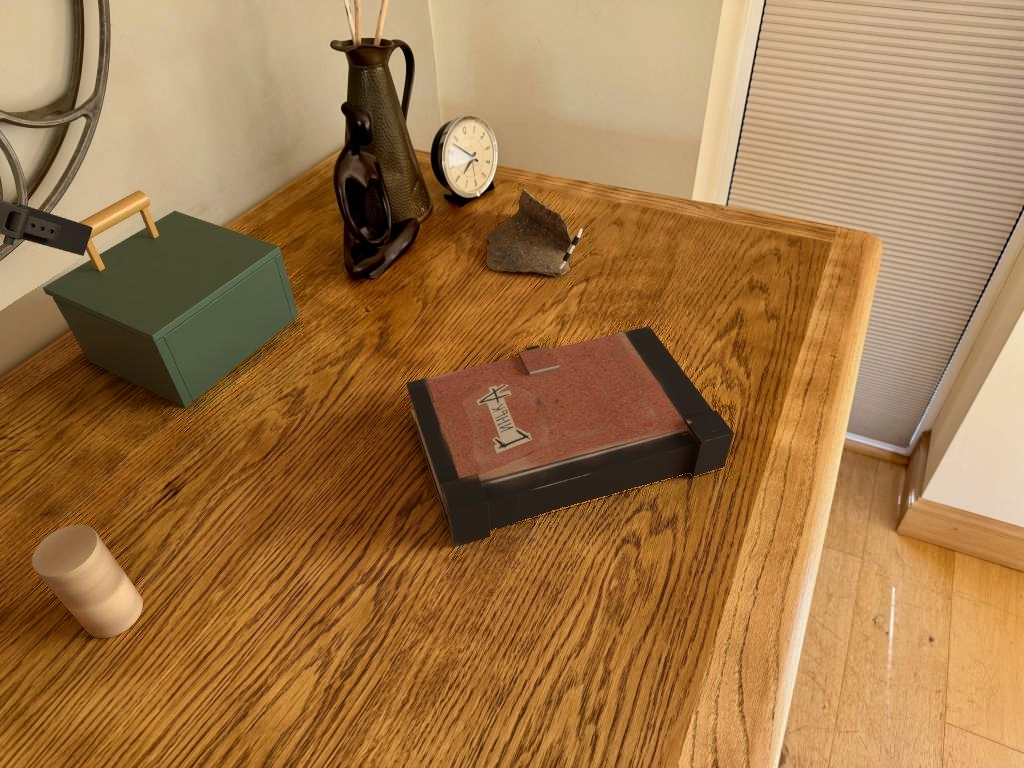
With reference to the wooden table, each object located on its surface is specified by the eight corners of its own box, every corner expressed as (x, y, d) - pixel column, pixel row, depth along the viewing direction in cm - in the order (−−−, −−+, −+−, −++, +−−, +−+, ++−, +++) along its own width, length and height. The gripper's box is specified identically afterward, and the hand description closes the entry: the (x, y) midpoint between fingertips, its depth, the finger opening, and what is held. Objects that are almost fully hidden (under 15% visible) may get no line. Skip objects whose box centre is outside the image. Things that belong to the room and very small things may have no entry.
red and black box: (641, 354, 80) (646, 318, 77) (723, 469, 68) (734, 433, 64) (409, 410, 74) (404, 374, 71) (454, 547, 62) (449, 512, 59)
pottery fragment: (478, 264, 103) (457, 238, 99) (537, 209, 103) (517, 182, 99) (536, 317, 90) (514, 291, 87) (603, 255, 90) (584, 226, 86)
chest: (93, 370, 80) (51, 297, 73) (209, 289, 90) (183, 218, 83) (189, 417, 74) (155, 343, 67) (301, 325, 85) (281, 252, 78)
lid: (45, 294, 73) (15, 242, 69) (176, 216, 84) (158, 167, 79) (154, 342, 67) (129, 289, 63) (281, 252, 78) (267, 201, 74)
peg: (72, 622, 58) (17, 560, 51) (118, 580, 60) (71, 515, 54) (109, 648, 56) (57, 586, 50) (155, 603, 59) (110, 539, 53)
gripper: (-370, 142, 52) (-52, 226, 72) (-196, 228, 43) (114, 298, 63) (-340, 43, 52) (-29, 155, 72) (-159, 108, 43) (141, 216, 63)
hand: (38, 222), depth 67 cm, fingers open, 13 cm apart
